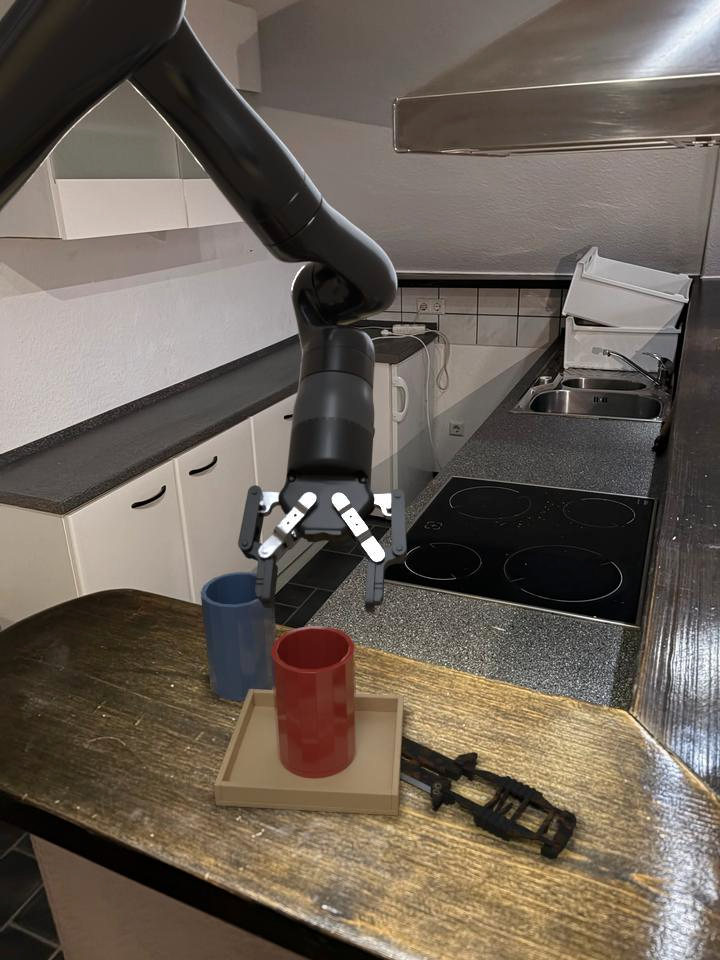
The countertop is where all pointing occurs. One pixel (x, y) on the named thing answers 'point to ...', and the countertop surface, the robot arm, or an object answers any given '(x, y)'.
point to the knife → (486, 814)
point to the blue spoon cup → (237, 636)
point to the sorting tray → (357, 789)
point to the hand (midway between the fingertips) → (318, 608)
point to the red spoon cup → (315, 700)
